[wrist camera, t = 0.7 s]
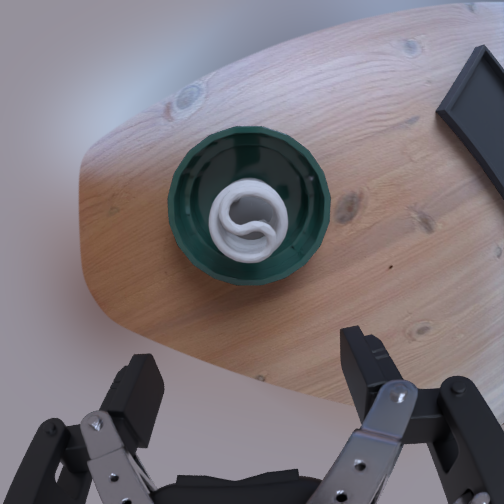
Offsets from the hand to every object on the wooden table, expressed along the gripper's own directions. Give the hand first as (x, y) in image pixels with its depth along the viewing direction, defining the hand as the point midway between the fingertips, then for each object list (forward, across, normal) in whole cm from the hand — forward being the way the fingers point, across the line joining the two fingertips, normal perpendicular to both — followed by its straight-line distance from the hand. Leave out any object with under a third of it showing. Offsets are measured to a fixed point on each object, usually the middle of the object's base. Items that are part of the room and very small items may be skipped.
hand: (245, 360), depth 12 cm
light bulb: (+21, -1, -3) cm, 21 cm away
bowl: (+21, -1, -3) cm, 21 cm away
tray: (+21, -34, -8) cm, 41 cm away
